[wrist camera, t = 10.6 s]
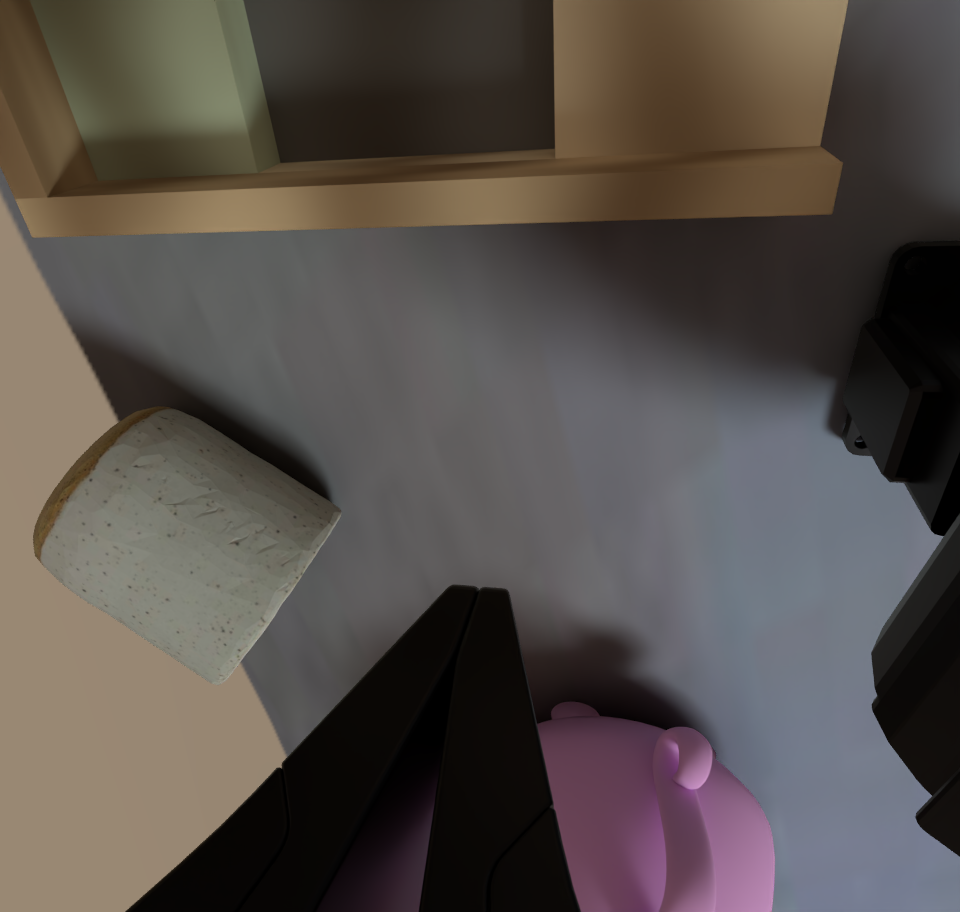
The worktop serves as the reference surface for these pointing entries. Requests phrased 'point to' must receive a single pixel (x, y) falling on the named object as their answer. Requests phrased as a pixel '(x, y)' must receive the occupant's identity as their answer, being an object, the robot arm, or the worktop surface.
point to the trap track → (412, 112)
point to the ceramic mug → (182, 536)
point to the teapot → (653, 818)
